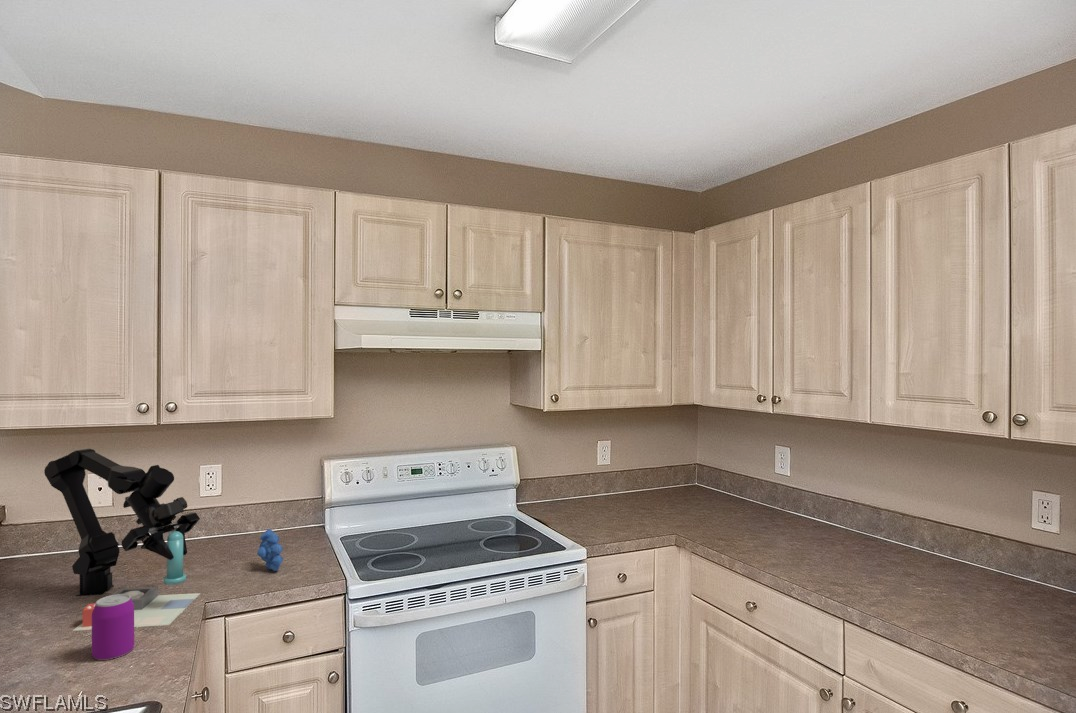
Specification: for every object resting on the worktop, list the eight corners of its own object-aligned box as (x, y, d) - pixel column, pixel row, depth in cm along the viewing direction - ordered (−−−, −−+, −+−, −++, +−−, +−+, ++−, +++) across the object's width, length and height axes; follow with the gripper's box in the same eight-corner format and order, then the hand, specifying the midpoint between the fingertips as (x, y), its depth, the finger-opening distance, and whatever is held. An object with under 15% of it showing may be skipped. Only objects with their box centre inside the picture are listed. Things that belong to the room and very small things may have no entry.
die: (82, 627, 149) (82, 608, 149) (88, 620, 153) (88, 602, 153) (102, 624, 150) (102, 606, 150) (107, 618, 154) (107, 600, 154)
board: (72, 632, 147) (72, 630, 147) (115, 599, 167) (115, 597, 167) (168, 626, 150) (168, 624, 150) (200, 594, 170) (200, 593, 170)
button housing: (103, 611, 158) (103, 601, 158) (121, 598, 167) (121, 588, 167) (141, 609, 159) (141, 599, 159) (157, 596, 168) (157, 586, 168)
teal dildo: (162, 585, 158) (162, 535, 158) (165, 579, 163) (165, 530, 163) (185, 583, 160) (185, 533, 160) (187, 576, 165) (187, 528, 165)
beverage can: (142, 645, 141) (141, 592, 140) (120, 662, 133) (120, 606, 133) (107, 646, 140) (106, 592, 140) (83, 663, 133) (82, 606, 133)
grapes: (248, 568, 190) (248, 529, 190) (270, 563, 195) (270, 524, 195) (265, 578, 183) (265, 537, 182) (288, 572, 188) (288, 532, 187)
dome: (113, 606, 160) (113, 598, 160) (124, 597, 165) (124, 590, 165) (137, 604, 161) (137, 597, 161) (147, 596, 166) (147, 588, 166)
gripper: (129, 497, 154) (162, 547, 150) (195, 482, 171) (225, 527, 168) (107, 525, 157) (138, 575, 153) (173, 508, 174) (203, 552, 171)
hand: (179, 556), depth 161 cm, fingers closed on teal dildo, 4 cm apart
